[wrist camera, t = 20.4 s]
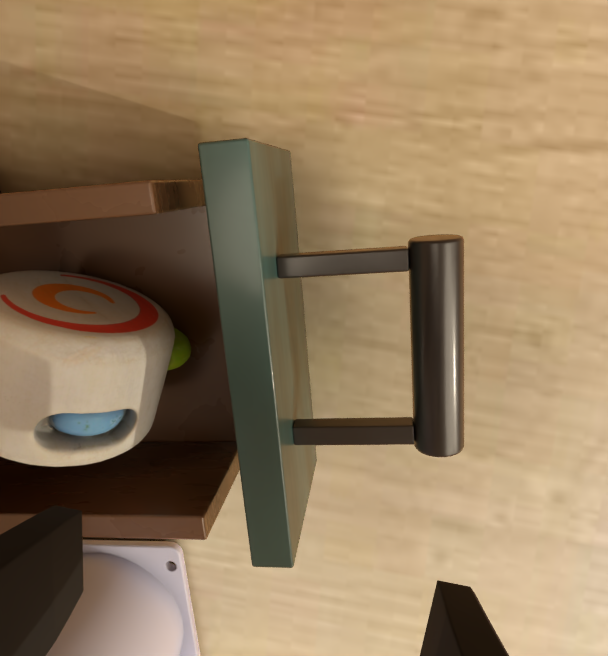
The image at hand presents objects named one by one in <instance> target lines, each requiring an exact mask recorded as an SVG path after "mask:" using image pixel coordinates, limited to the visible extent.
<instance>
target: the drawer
mask: <svg viewBox="0 0 608 656" xmlns="http://www.w3.org/2000/svg"><path fill="white" fill-rule="evenodd" d="M198 150H199V158H200V165H201V173H202V180H146V181H135V182H124V183H113V184H102V185H91V186H80V187H69V188H58V189H47V190H36V191H25V192H14V193H3V194H0V274H4V273H9V272H16V271H28V270H43V271H59V272H68V273H76V274H82V275H87V276H92V277H96V278H100V279H104V280H108V281H111V282H115V283H118V284H120V285H123V286H126V287H128V288H131V289H133V290H135V291H137V292H139V293H141V294H143V295H145V296H147V297H148V298H150V299H151V300H153V301H154V302H155V303H157V304H158V305H159V306H160V307H161V308H163V309H164V310H165V311H166V313H167V314H168V315H169V317H170V319H171V321H172V323H173V326H174V328H176V329H177V330H179V331H181V332H182V333H183V334H184V335H185V336H186V337H187V338H188V340H189V342H190V346H191V354H190V357H189V358H188V360H187V361H186V362H185V363H184V364H183V365H181V366H180V367H178V368H175V369H172V370H168V371H167V374H166V378H165V382H164V386H163V389H162V393H161V396H160V400H159V404H158V407H157V411H156V415H155V419H154V422H153V424H152V427H151V429H150V430H149V432H148V433H147V435H146V436H145V437H144V438H143V439H142V440H141V441H140V442H139V443H138V444H137V445H135V446H134V447H133V448H131V449H129V450H128V451H126V452H124V453H122V454H120V455H117V456H115V457H113V458H110V459H107V460H104V461H101V462H96V463H91V464H86V465H78V466H63V467H52V466H38V465H30V464H25V463H21V462H17V461H13V460H9V459H6V458H3V457H0V535H1V534H2V533H4V532H6V531H8V530H9V529H11V528H13V527H15V526H17V525H18V524H20V523H22V522H24V521H26V520H27V519H29V518H31V517H33V516H35V515H36V514H38V513H40V512H42V511H44V510H46V509H48V508H50V507H52V506H54V505H55V506H60V507H65V508H71V509H76V510H81V511H82V537H102V538H149V539H196V540H205V539H207V537H208V535H209V533H210V530H211V528H212V526H213V524H214V522H215V520H216V518H217V516H218V514H219V512H220V509H221V507H222V505H223V503H224V501H225V499H226V497H227V495H228V493H229V491H230V489H231V486H232V484H233V482H234V480H235V478H236V476H237V474H238V472H239V470H240V475H241V482H242V490H243V498H244V506H245V513H246V521H247V529H248V536H249V544H250V552H251V560H252V565H253V566H254V567H282V568H292V567H293V566H294V561H295V557H296V552H297V548H298V543H299V539H300V534H301V529H302V525H303V520H304V516H305V511H306V507H307V502H308V498H309V493H310V489H311V484H312V480H313V475H314V470H315V466H316V461H317V459H316V447H315V445H388V444H414V445H415V447H416V449H417V450H418V451H420V452H421V453H423V454H426V455H429V456H434V457H448V456H453V455H456V454H458V453H459V452H461V451H462V449H463V447H464V239H463V237H462V236H459V235H448V234H445V235H427V236H419V237H414V238H412V239H410V240H409V242H408V247H407V246H398V247H382V248H367V249H351V250H336V251H321V252H305V253H299V247H298V236H297V224H296V212H295V200H294V188H293V177H292V165H291V153H290V151H288V150H285V149H281V148H278V147H275V146H271V145H268V144H264V143H261V142H258V141H254V140H251V139H247V138H242V139H233V140H223V141H213V142H203V143H199V144H198ZM404 271H409V289H410V323H411V357H412V392H413V418H412V417H398V418H332V419H313V412H312V400H311V389H310V377H309V365H308V353H307V342H306V330H305V318H304V306H303V294H302V283H301V277H317V276H334V275H352V274H369V273H386V272H404Z"/></svg>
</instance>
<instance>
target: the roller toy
mask: <svg viewBox="0 0 608 656" xmlns="http://www.w3.org/2000/svg"><path fill="white" fill-rule="evenodd" d="M190 354H191V346H190V342H189V340H188V338H187V337H186V336H185V335H184V334H183V333H182V332H181V331H179V330H177V329H176V328H174V326H173V323H172V321H171V319H170V317H169V315H168V314H167V313H166V311H165V310H164V309H163V308H161V307H160V306H159V305H158V304H157V303H155V302H154V301H153V300H151V299H150V298H148V297H147V296H145V295H143V294H141V293H139V292H137V291H135V290H133V289H131V288H128V287H126V286H123V285H120V284H118V283H115V282H111V281H108V280H104V279H100V278H96V277H92V276H87V275H82V274H76V273H68V272H59V271H43V270H28V271H16V272H9V273H4V274H0V457H3V458H6V459H9V460H13V461H17V462H21V463H25V464H30V465H38V466H52V467H63V466H78V465H86V464H91V463H96V462H101V461H104V460H107V459H110V458H113V457H115V456H117V455H120V454H122V453H124V452H126V451H128V450H129V449H131V448H133V447H134V446H135V445H137V444H138V443H139V442H140V441H141V440H142V439H143V438H144V437H145V436H146V435H147V433H148V432H149V430H150V429H151V427H152V424H153V422H154V419H155V415H156V411H157V407H158V404H159V400H160V396H161V393H162V389H163V386H164V382H165V378H166V374H167V371H168V370H172V369H175V368H178V367H180V366H181V365H183V364H184V363H185V362H186V361H187V360H188V358H189V357H190Z"/></svg>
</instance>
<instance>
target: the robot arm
mask: <svg viewBox="0 0 608 656" xmlns="http://www.w3.org/2000/svg"><path fill="white" fill-rule="evenodd" d="M169 561H172V562H174V563H175V564H176V565H173V564H171V563H170V562H169ZM0 656H201V655H200V649H199V643H198V637H197V631H196V625H195V619H194V614H193V608H192V602H191V596H190V590H189V584H188V578H187V572H186V566H185V561H184V555H183V550H182V548H181V547H180V546H179V544H177V543H175V542H170V541H125V540H82V511H81V510H76V509H71V508H65V507H60V506H55V505H54V506H52V507H50V508H48V509H46V510H44V511H42V512H40V513H38V514H36V515H35V516H33V517H31V518H29V519H27V520H26V521H24V522H22V523H20V524H18V525H17V526H15V527H13V528H11V529H9V530H8V531H6V532H4V533H2V534H1V535H0ZM420 656H509V655H508V653H507V651H506V650H505V648H504V646H503V644H502V642H501V641H500V639H499V637H498V635H497V634H496V632H495V630H494V628H493V626H492V625H491V623H490V621H489V619H488V617H487V615H486V614H485V612H484V610H483V608H482V606H481V604H480V602H479V600H478V599H477V597H476V595H475V593H474V592H473V590H472V589H471V587H468V586H463V585H458V584H453V583H448V582H443V581H438V580H437V585H436V589H435V593H434V598H433V602H432V606H431V610H430V615H429V619H428V623H427V628H426V632H425V636H424V641H423V645H422V649H421V653H420Z"/></svg>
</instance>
